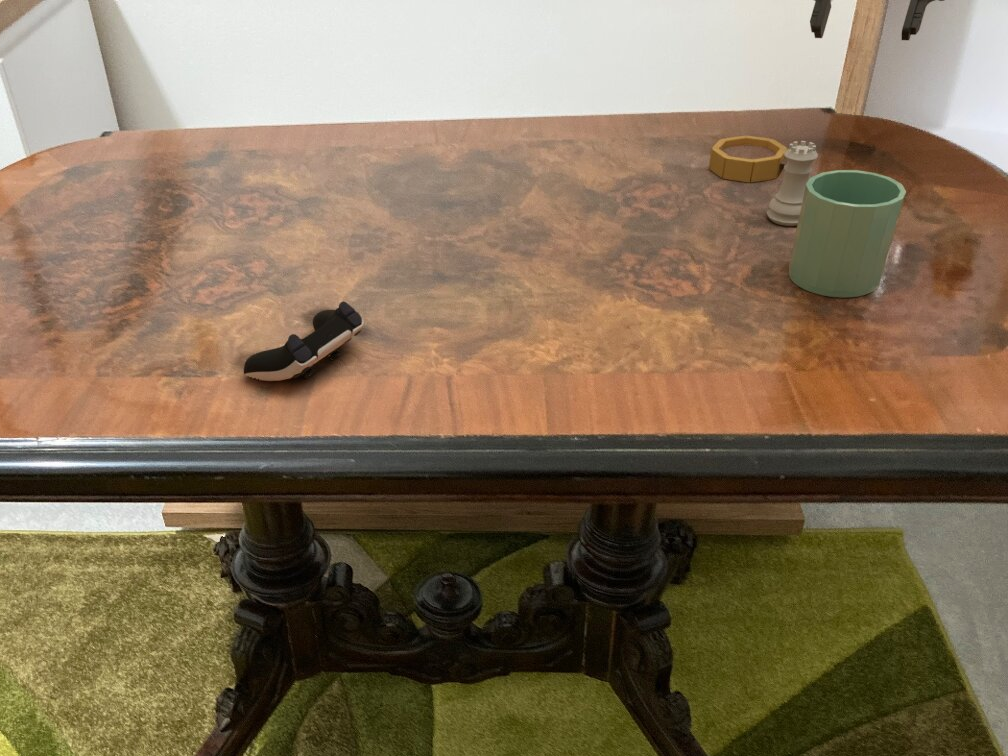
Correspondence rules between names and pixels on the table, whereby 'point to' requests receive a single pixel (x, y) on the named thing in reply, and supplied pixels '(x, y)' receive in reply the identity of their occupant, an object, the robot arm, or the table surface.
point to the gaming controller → (307, 346)
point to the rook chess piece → (792, 184)
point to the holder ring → (747, 160)
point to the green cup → (845, 232)
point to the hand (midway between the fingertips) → (860, 35)
